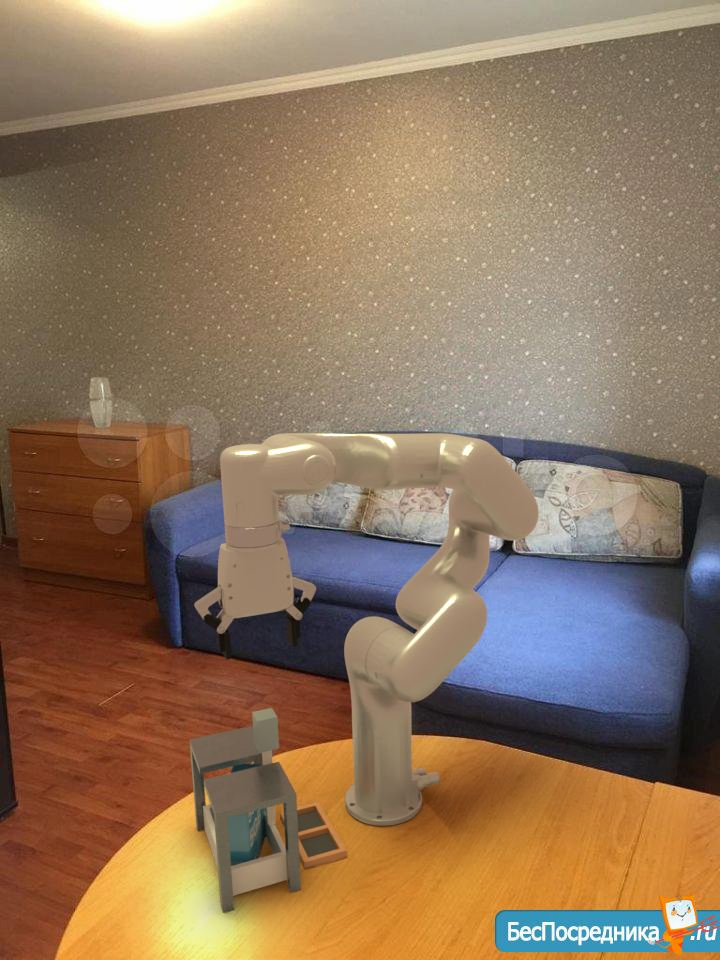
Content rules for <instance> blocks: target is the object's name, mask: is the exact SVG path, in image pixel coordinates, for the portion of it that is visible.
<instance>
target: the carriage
mask: <svg viewBox="0 0 720 960" xmlns="http://www.w3.org/2000/svg"><path fill="white" fill-rule="evenodd" d="M251 713H252V714H251V717H252V726H253V734H254V744H255V746H256V748H257V750H258V752H259V753H262V761H263V765H267V764H271V763H273V757H272V750H273V751H276V750H279V749H280V738H279V719H278V715H277V714H276V713H275V711H274V709H273V707H269V708H264V709H260V710H256V711H251ZM203 814H204V827H205V830H204V832H205V835H206V839H207V841H208V844H209V846H210V850H211V853H212V855H213V859H214V860H213V861H214V863H215V866H216V869H217V870H218V861H217V847H216V834H215V820H214V813H213V810H212V807H211V804H206V806H203ZM276 818H277V817H276V805H275V806H271V807H267V808H265V812H264V820H265V836H266V837H265V840H266V841H267V843H268V846H269V849H270V850H271V853H272V854H270V855H265V856H262V857H259V859H255V860H251V861H248V862H244V863H241V864H237V865H234V866H231V873H232V888H233V897H234V896H237V895H240V894H243V893H247V892H250V891H252V890H257V889H260V888H264V887H267V886H271V885H274V884H277V883H280V882H283V881H284V882H285V881H287V864H286V845H285V842H284V840H283V838H282V836H281V835H280V832H279V830H278V828H277V825H276V824H277V822H276V821H277V819H276Z"/></svg>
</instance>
